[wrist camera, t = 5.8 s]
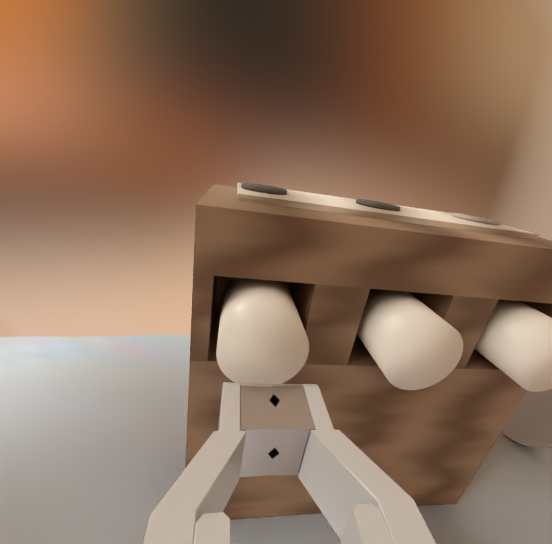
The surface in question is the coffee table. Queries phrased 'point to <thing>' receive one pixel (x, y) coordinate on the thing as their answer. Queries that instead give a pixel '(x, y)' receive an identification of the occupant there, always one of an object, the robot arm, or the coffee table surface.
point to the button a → (260, 333)
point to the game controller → (532, 420)
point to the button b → (519, 344)
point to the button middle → (408, 339)
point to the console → (345, 322)
